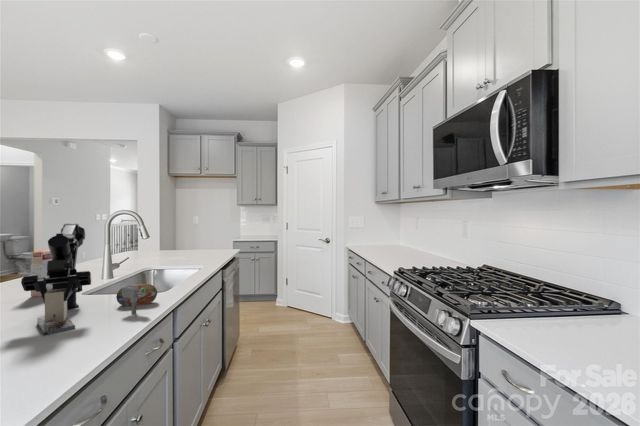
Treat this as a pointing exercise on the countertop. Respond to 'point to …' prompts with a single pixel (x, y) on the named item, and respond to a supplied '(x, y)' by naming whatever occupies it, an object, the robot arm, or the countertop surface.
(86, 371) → the countertop surface
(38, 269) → the cracker box
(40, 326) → the plate
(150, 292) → the tin
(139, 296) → the grey t-shaped piece
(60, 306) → the block
